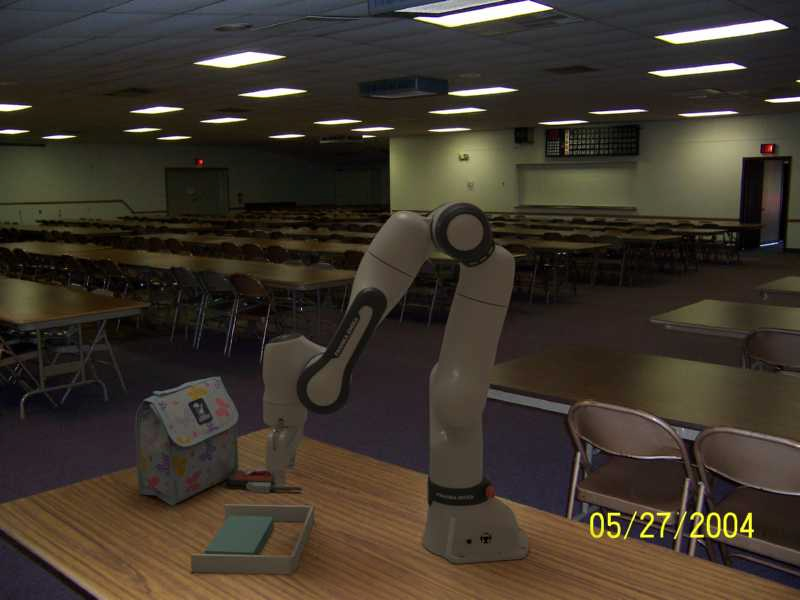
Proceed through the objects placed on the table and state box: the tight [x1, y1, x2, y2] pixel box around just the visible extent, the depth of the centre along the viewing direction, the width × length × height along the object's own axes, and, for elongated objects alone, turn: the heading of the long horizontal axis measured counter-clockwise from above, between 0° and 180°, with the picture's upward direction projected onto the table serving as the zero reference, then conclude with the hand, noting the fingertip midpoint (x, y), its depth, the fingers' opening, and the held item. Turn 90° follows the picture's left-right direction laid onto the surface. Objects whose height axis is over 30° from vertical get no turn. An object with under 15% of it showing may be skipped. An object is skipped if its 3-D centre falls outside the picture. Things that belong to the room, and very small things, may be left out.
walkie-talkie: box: [224, 467, 302, 494], centre depth 181 cm, size 9×4×20 cm
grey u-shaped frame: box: [190, 503, 315, 575], centre depth 151 cm, size 20×23×4 cm
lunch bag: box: [134, 376, 239, 506], centre depth 179 cm, size 22×17×26 cm
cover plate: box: [203, 515, 275, 555], centre depth 151 cm, size 10×16×3 cm, turn 176°
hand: (285, 476), depth 149 cm, fingers open, 8 cm apart
